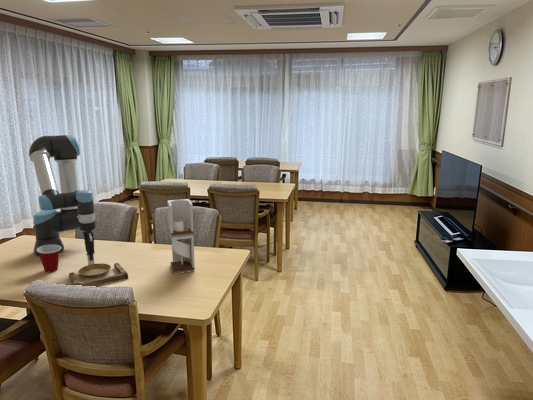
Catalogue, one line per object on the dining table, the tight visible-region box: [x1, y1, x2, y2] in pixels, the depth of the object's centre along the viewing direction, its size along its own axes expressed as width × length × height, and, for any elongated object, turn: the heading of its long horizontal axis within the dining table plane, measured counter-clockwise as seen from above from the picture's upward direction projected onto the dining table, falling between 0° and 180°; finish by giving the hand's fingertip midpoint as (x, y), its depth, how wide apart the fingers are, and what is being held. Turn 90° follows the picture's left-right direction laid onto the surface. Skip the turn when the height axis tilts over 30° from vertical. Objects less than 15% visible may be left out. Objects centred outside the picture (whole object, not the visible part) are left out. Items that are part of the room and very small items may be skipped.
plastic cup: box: [36, 245, 61, 273], centre depth 196 cm, size 11×11×12 cm
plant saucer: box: [78, 262, 112, 279], centre depth 193 cm, size 15×15×3 cm
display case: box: [166, 198, 196, 275], centre depth 197 cm, size 11×11×35 cm
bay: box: [68, 262, 129, 287], centre depth 188 cm, size 16×23×2 cm
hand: (91, 265), depth 200 cm, fingers closed
